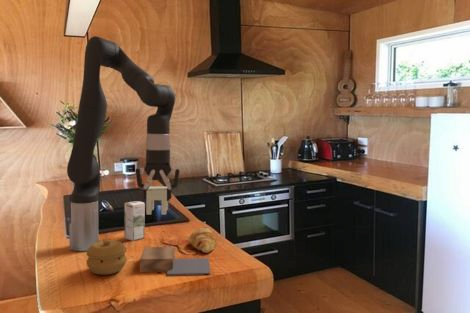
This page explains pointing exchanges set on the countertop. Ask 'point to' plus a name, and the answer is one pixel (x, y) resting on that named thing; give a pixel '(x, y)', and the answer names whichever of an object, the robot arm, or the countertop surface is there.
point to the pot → (106, 257)
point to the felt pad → (190, 267)
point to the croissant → (203, 239)
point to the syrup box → (134, 220)
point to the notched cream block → (156, 194)
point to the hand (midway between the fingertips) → (157, 200)
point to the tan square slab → (157, 259)
